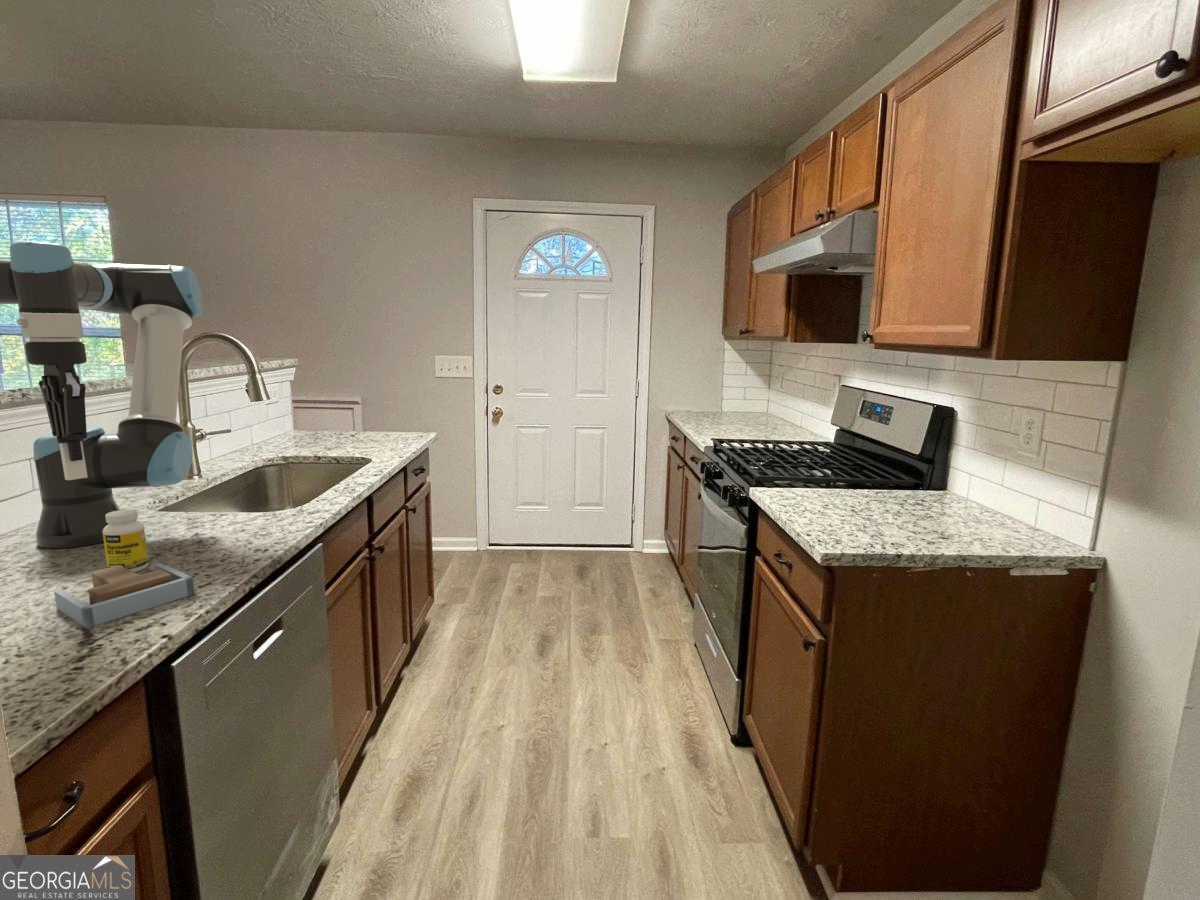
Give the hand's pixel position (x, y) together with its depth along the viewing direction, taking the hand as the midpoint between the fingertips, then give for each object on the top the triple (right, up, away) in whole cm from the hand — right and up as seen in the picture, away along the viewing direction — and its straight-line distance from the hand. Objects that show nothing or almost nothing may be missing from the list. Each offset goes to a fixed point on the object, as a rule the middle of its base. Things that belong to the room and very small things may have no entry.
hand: (76, 478), depth 107 cm
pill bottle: (+2, -18, +9) cm, 20 cm away
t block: (+11, -20, -4) cm, 23 cm away
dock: (+12, -20, -5) cm, 24 cm away
